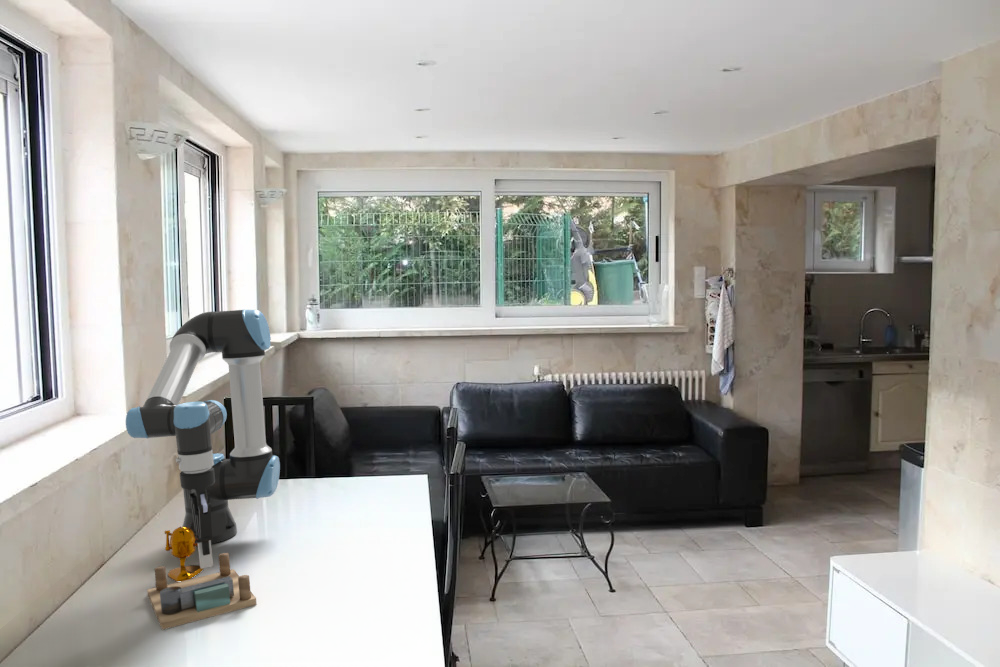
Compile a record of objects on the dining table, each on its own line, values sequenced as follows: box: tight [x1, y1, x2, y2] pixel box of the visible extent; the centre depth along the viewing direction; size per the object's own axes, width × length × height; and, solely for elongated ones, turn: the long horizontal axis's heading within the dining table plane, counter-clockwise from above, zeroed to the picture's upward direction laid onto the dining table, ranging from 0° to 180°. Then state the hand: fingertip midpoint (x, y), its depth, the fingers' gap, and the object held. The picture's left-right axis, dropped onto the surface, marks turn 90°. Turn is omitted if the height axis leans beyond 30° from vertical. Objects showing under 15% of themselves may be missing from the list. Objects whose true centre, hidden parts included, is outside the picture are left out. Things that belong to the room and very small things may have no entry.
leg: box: [160, 576, 234, 614], centre depth 177 cm, size 15×4×4 cm, turn 122°
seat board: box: [146, 552, 257, 630], centre depth 183 cm, size 22×20×6 cm
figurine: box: [164, 525, 205, 582], centre depth 200 cm, size 8×11×12 cm
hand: (206, 566), depth 186 cm, fingers closed
